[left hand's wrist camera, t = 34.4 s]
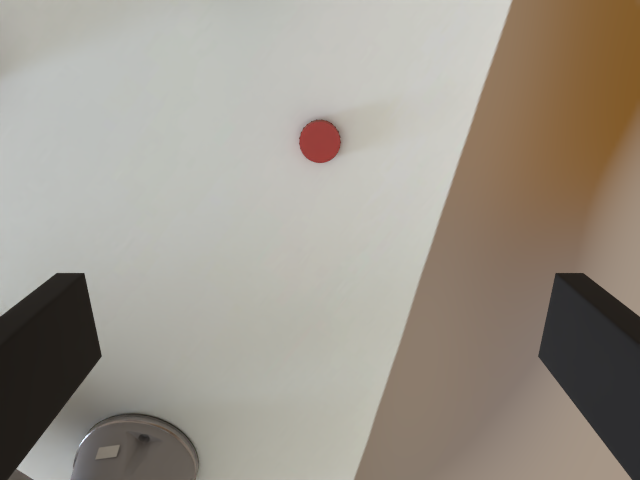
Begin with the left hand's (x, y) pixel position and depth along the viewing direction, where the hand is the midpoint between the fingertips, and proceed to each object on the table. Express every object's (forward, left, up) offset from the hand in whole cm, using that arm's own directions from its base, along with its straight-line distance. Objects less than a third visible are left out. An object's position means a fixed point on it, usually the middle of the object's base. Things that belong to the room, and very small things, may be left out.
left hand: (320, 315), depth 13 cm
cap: (0, 0, -32) cm, 32 cm away
